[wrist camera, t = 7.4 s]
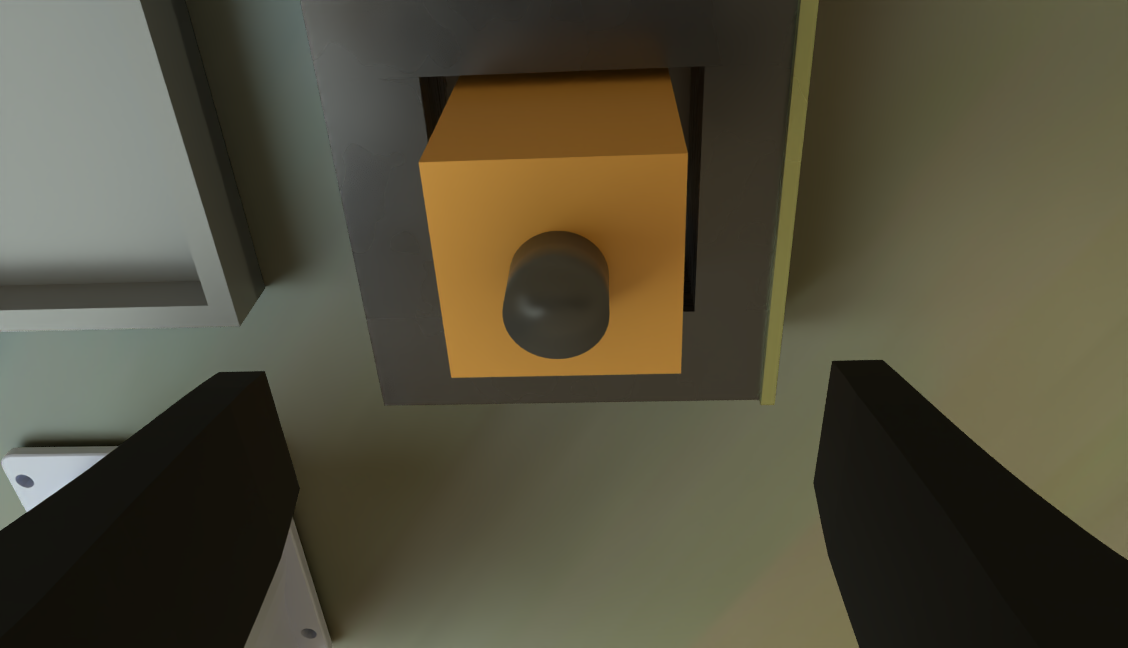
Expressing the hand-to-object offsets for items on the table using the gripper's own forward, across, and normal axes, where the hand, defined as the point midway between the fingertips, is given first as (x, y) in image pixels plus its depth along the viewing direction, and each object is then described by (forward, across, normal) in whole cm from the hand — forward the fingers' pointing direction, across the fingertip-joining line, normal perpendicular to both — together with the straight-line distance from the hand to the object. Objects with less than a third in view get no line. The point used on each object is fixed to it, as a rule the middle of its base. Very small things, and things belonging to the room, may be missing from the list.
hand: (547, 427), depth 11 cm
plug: (+9, 0, 0) cm, 9 cm away
